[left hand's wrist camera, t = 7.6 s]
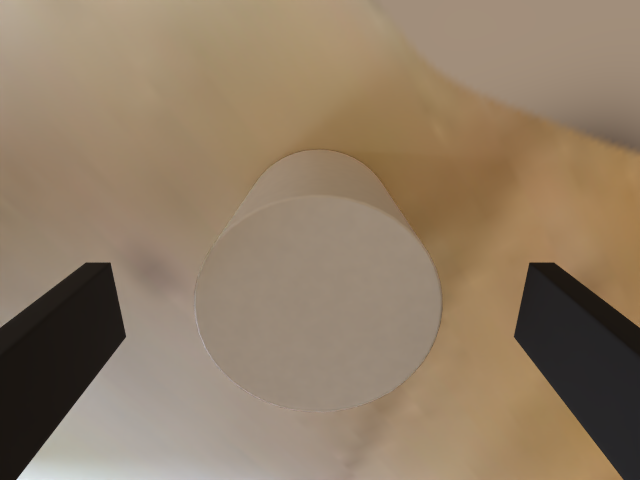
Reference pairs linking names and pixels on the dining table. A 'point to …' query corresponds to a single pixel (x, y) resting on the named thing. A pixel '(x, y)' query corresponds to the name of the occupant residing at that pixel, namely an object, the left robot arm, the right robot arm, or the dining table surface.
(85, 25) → the dining table surface
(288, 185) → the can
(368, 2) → the dining table surface
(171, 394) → the dining table surface
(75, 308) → the left robot arm
